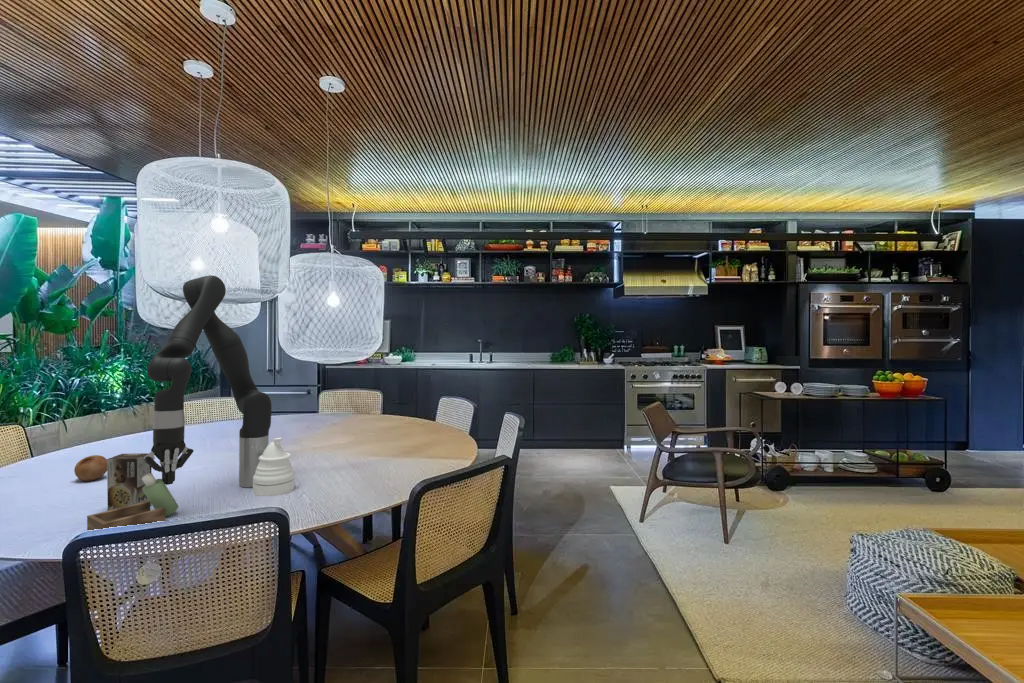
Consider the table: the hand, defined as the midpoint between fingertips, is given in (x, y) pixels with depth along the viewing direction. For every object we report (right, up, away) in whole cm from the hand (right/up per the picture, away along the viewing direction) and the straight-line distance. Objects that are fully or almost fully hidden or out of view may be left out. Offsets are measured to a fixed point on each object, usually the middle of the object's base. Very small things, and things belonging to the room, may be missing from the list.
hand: (168, 483), depth 141 cm
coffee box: (-16, -9, +5) cm, 19 cm away
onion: (-52, -9, +33) cm, 62 cm away
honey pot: (+19, -10, +24) cm, 32 cm away
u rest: (-5, -9, -8) cm, 13 cm away
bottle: (0, -8, 0) cm, 8 cm away
